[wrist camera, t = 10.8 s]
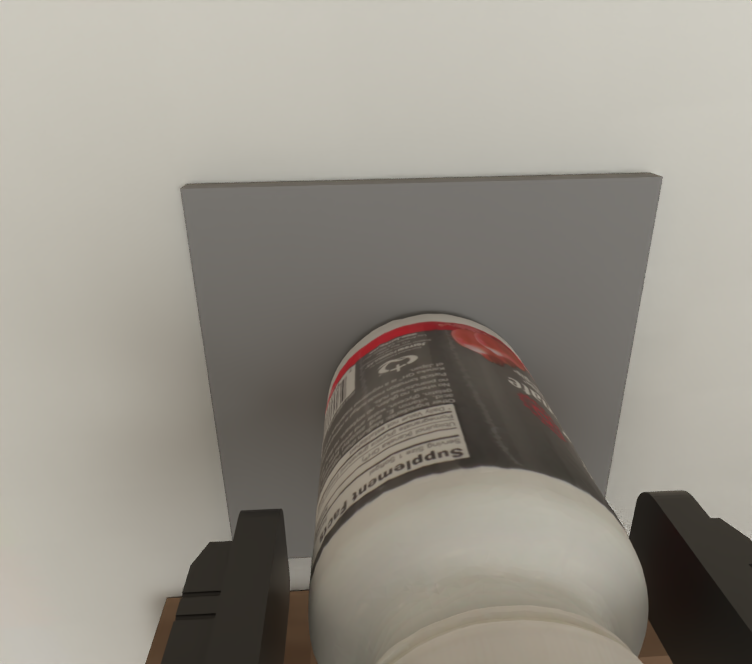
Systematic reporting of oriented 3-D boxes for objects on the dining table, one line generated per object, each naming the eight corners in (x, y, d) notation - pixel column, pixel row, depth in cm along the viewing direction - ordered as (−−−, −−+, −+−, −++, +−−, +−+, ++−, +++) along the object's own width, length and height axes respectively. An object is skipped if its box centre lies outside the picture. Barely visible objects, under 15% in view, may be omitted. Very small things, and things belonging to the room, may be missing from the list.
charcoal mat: (589, 528, 19) (596, 542, 18) (238, 546, 18) (235, 561, 18) (650, 173, 14) (663, 176, 14) (187, 184, 14) (180, 188, 13)
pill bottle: (566, 411, 16) (842, 843, 7) (410, 515, 17) (472, 995, 8) (448, 263, 14) (613, 585, 5) (283, 390, 15) (184, 829, 6)
